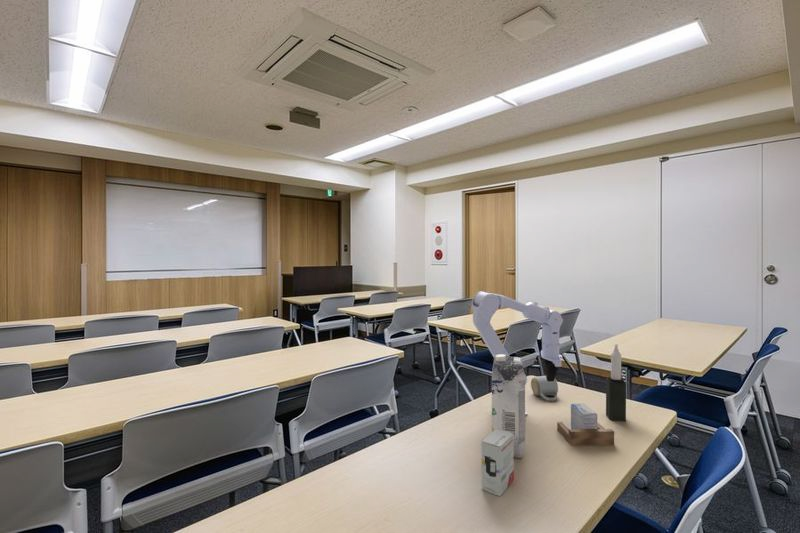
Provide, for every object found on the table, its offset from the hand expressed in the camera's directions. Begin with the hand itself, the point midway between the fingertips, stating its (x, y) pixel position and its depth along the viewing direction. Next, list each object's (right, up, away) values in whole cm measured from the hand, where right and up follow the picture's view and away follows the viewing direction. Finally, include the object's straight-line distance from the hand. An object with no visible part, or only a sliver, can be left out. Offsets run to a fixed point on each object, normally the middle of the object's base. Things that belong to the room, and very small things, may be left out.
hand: (550, 380), depth 134 cm
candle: (+19, -10, -8) cm, 23 cm away
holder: (+2, -11, -21) cm, 24 cm away
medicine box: (+2, -11, -21) cm, 23 cm away
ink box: (-30, -12, -44) cm, 55 cm away
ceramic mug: (+3, -10, +12) cm, 15 cm away
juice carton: (-23, -11, -28) cm, 38 cm away
